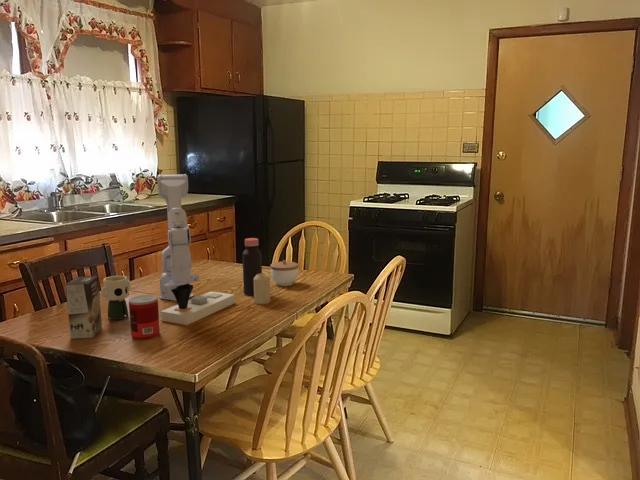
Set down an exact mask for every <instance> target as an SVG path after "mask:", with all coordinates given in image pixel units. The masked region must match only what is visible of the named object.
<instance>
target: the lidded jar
mask: <svg viewBox="0 0 640 480" xmlns="http://www.w3.org/2000/svg"><path fill="white" fill-rule="evenodd" d="M269 266H270V275H271V278H272V280H273V281H274V283H276V285H277V286H280V287H289V286H293V285H294V283H295V281H296V280H297V278H298V275H299V264H298V263H297V262H295V261H287V260H286V259H283V260H282V261H277V262H272V263H271V264H270V265H269Z"/></svg>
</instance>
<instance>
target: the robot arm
mask: <svg viewBox="0 0 640 480" xmlns="http://www.w3.org/2000/svg"><path fill="white" fill-rule="evenodd" d="M156 178H157V179H156V183H157V192H158V193H157V195H158V197H159V199H163V200H164V201H165V203H166V210H167V214H166V215H167V228H168V230H167V243H168V246H167V247H165V248H164V249H163V250H162V252H161V268H162V269H161V270H162V274H161V275H160V278H159V285H160V286H159V287H160V288H159V289H160V296H159V299H163V300H170V301H175V302H177V305H178V306H179V308H180V309H186V308H187V305H188V300H190V298H193V297H195V294H193V293H192V292H193V289H194V285H193V283H194V282H199V281H200V275H199V274H192V273H191V272H192V271H191V270H192V256H191V250H190V246H191V243H192V242H191V241H192V240H191V231H190V230H191V229H190V227H189V224H188V221H187V220H188V219H187V212H186V211H185V210H184V209H183V208H182V199H184V198H186V197H187V195H188V191H189V179H188V178H189V176H188V175H187V174H186V173H184V174H183V173H182V174H181V173H180V174H158V175H156Z"/></svg>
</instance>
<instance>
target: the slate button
mask: <svg viewBox="0 0 640 480" xmlns="http://www.w3.org/2000/svg"><path fill="white" fill-rule="evenodd" d="M190 298H191V304H196V305H202V304H205V303H207V297H205V296H200V295H195V296H192V297H190Z"/></svg>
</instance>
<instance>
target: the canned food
mask: <svg viewBox="0 0 640 480" xmlns="http://www.w3.org/2000/svg"><path fill="white" fill-rule="evenodd" d="M159 311H160V310H159V300H158V296H157V295H153V294H142V295H136V296H133V297H131V298H129V299H128V313H129V323H130V325H129V326H130V333H131V338H132V339H134V340H140V341H142V340H143V341H144V340H151V339H153V338H156V337H158V336H159V335H160V331H161V330H160V316H159V315H160V313H159Z"/></svg>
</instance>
